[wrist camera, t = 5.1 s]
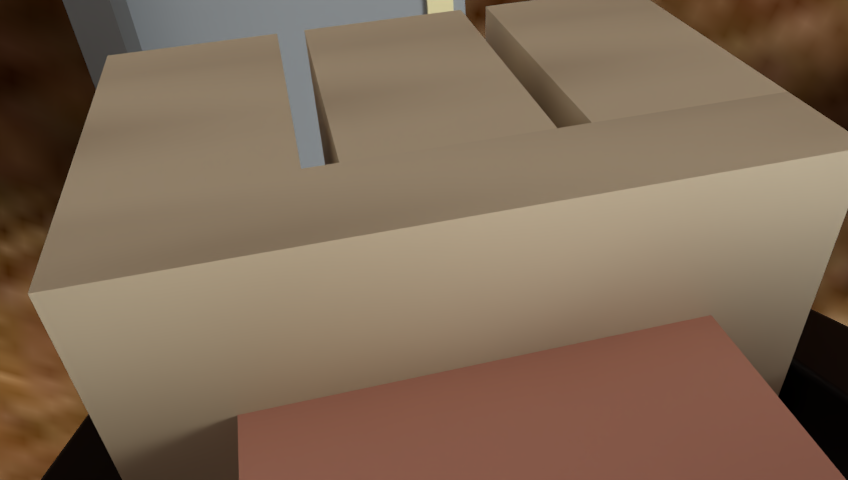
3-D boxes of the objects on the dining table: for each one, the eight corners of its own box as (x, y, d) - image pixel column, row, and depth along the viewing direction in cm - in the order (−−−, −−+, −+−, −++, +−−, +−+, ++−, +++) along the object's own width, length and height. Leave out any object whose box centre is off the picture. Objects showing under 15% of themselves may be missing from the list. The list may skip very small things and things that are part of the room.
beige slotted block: (582, 384, 13) (700, 604, 10) (241, 458, 12) (248, 728, 9) (631, -13, 9) (870, 145, 5) (108, 55, 8) (28, 294, 4)
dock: (454, 191, 22) (488, 260, 19) (187, 241, 21) (183, 322, 18) (432, -240, 15) (479, -229, 12) (38, -202, 14) (-6, -181, 11)
